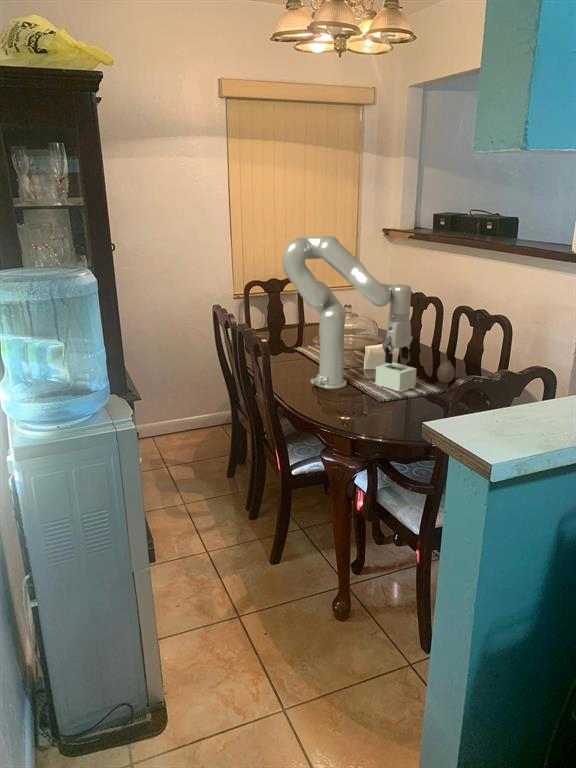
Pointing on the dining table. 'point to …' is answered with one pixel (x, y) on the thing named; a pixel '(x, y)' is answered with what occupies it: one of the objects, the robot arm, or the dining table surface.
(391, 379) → the coin box
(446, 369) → the vase
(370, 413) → the dining table surface
